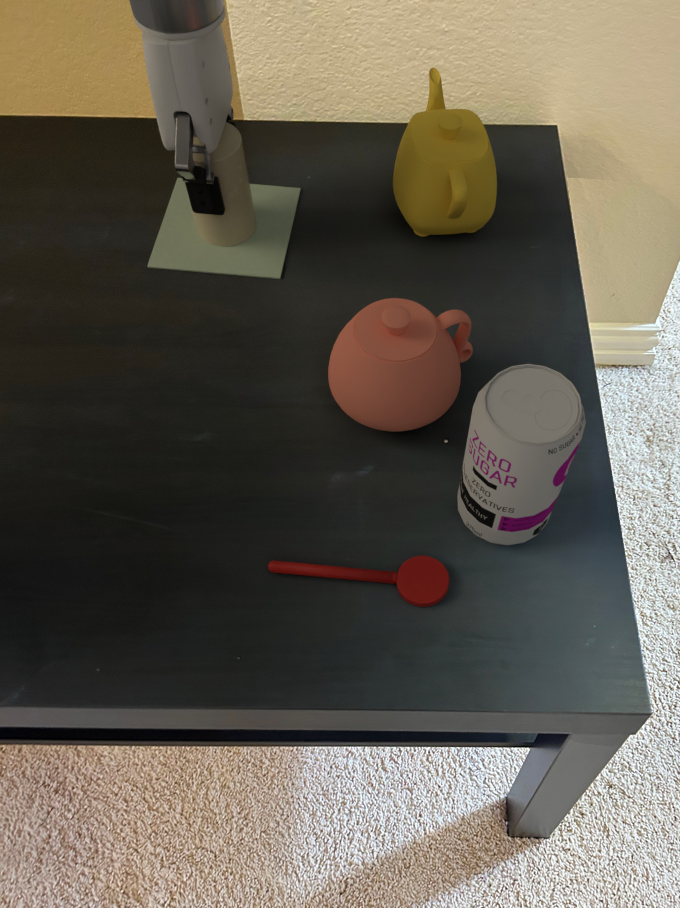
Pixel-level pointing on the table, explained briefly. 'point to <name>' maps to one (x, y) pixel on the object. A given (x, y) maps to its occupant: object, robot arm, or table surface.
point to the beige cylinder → (228, 193)
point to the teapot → (445, 169)
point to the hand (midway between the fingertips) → (217, 184)
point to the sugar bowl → (398, 364)
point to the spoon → (385, 577)
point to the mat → (249, 258)
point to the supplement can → (518, 452)
